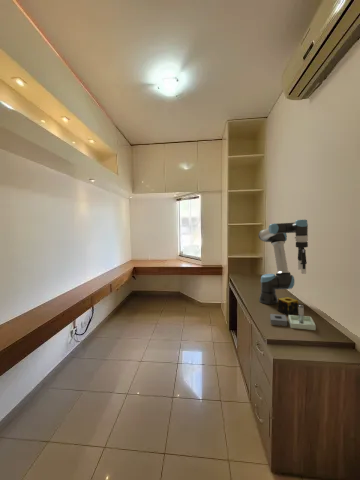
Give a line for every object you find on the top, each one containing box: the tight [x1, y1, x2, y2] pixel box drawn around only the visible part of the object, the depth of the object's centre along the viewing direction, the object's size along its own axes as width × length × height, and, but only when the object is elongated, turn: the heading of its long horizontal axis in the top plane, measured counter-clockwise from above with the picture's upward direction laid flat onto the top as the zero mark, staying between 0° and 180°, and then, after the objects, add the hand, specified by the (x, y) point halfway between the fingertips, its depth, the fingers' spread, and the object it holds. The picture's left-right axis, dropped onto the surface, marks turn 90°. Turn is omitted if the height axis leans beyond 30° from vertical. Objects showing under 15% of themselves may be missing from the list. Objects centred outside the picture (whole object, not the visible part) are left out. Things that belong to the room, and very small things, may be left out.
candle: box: [277, 296, 299, 316], centre depth 171 cm, size 10×10×10 cm
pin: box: [298, 304, 305, 324], centre depth 150 cm, size 3×3×12 cm
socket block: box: [269, 313, 288, 327], centre depth 155 cm, size 10×10×4 cm
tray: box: [287, 314, 317, 331], centre depth 151 cm, size 14×14×3 cm
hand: (302, 271), depth 161 cm, fingers open, 13 cm apart
